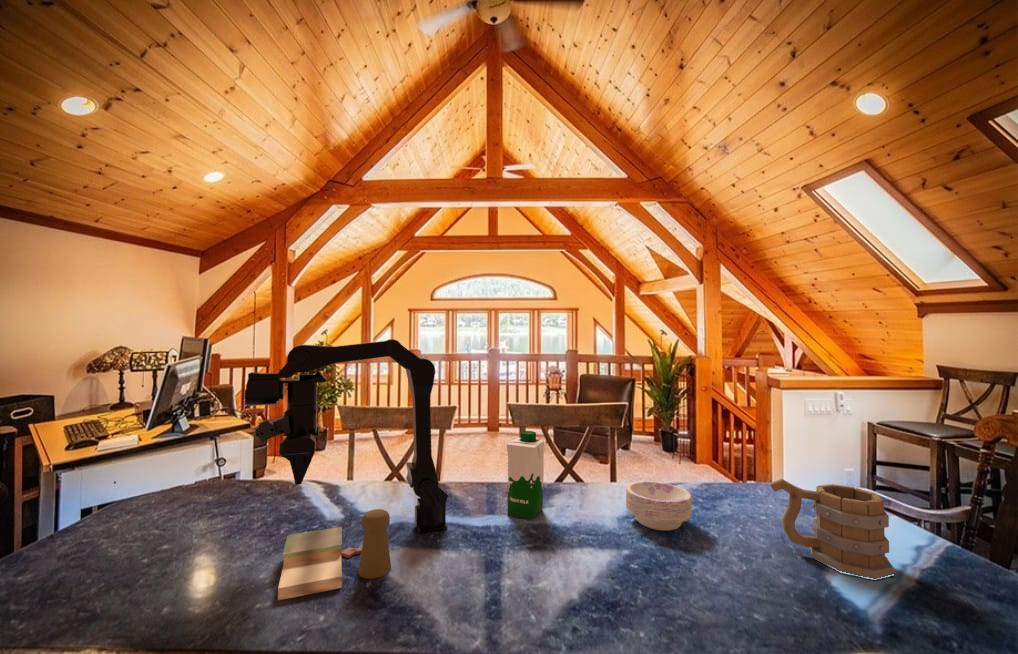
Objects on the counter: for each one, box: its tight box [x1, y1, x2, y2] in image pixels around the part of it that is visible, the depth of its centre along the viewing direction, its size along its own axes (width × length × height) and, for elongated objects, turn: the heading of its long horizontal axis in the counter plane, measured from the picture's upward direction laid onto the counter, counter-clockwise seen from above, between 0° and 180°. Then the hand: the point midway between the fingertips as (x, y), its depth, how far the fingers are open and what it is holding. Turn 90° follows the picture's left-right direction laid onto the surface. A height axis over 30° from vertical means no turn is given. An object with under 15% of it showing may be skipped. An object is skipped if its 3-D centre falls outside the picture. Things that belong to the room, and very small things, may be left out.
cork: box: [357, 508, 392, 579], centre depth 81 cm, size 6×6×11 cm
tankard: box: [769, 478, 896, 579], centre depth 87 cm, size 20×13×15 cm, turn 62°
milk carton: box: [506, 430, 545, 521], centre depth 108 cm, size 9×9×20 cm
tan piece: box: [277, 526, 362, 601], centre depth 82 cm, size 16×16×4 cm
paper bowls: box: [625, 480, 693, 532], centre depth 103 cm, size 15×15×8 cm
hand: (300, 477), depth 90 cm, fingers open, 9 cm apart
